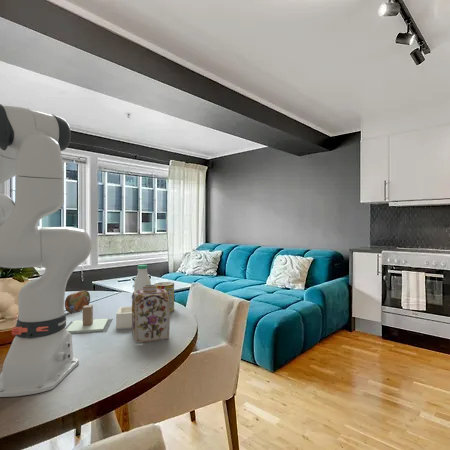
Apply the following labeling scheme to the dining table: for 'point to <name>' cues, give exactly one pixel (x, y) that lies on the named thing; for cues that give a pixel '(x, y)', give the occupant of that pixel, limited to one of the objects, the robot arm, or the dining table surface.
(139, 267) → the milk bottle
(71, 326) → the lid
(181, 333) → the dining table surface
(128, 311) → the dish
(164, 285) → the yellow labeled can
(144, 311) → the decorative jar
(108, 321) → the mat
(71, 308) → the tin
